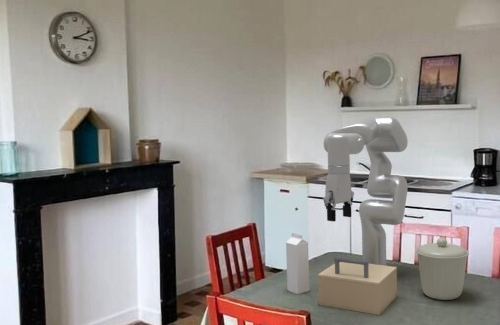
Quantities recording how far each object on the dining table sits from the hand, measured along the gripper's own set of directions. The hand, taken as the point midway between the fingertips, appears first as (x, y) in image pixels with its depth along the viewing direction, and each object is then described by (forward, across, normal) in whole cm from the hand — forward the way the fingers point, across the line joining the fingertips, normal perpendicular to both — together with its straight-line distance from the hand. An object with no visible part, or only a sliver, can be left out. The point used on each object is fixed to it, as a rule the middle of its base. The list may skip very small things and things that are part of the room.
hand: (339, 218), depth 192 cm
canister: (+30, -29, +24) cm, 48 cm away
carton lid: (+20, -6, +4) cm, 21 cm away
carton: (+30, -6, +4) cm, 31 cm away
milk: (+30, -1, -20) cm, 36 cm away
